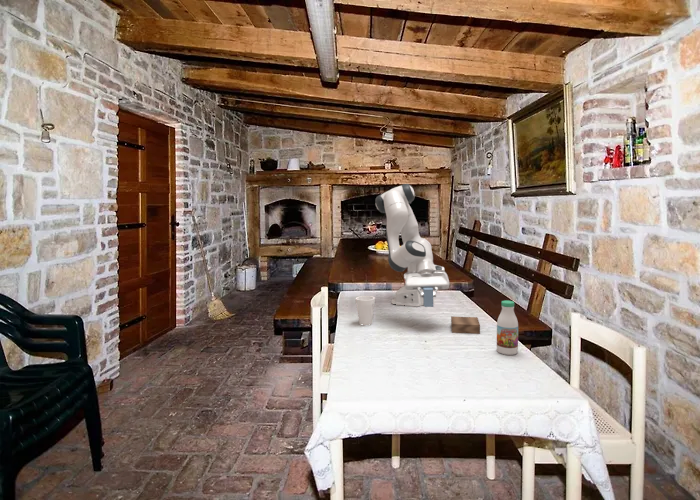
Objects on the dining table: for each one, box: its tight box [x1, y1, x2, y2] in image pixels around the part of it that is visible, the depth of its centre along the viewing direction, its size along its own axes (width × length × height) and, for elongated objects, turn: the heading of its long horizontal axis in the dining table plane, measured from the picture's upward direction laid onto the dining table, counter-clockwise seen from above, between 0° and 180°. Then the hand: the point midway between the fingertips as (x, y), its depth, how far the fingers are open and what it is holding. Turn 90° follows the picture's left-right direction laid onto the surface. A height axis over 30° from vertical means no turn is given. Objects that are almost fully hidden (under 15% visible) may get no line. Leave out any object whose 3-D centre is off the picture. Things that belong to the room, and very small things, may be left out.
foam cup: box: [355, 295, 376, 326], centre depth 190 cm, size 10×9×13 cm
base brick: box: [450, 316, 481, 335], centre depth 178 cm, size 12×12×4 cm
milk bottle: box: [496, 300, 519, 356], centre depth 149 cm, size 8×8×20 cm
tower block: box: [423, 288, 434, 308], centre depth 175 cm, size 4×4×8 cm
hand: (428, 296), depth 175 cm, fingers closed on tower block, 4 cm apart
